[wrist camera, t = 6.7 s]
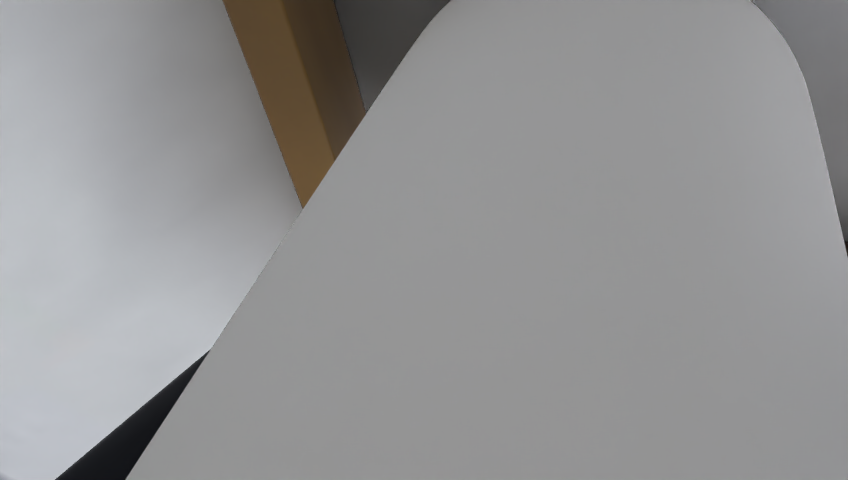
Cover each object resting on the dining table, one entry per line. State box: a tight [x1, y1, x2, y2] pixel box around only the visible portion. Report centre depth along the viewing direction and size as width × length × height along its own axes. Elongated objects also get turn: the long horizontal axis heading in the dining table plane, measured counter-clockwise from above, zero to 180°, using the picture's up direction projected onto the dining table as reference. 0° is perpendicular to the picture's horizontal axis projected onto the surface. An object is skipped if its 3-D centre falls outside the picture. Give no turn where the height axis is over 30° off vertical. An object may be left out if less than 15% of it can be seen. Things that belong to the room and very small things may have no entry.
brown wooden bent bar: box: [223, 0, 848, 257], centre depth 11 cm, size 17×10×2 cm, turn 100°
